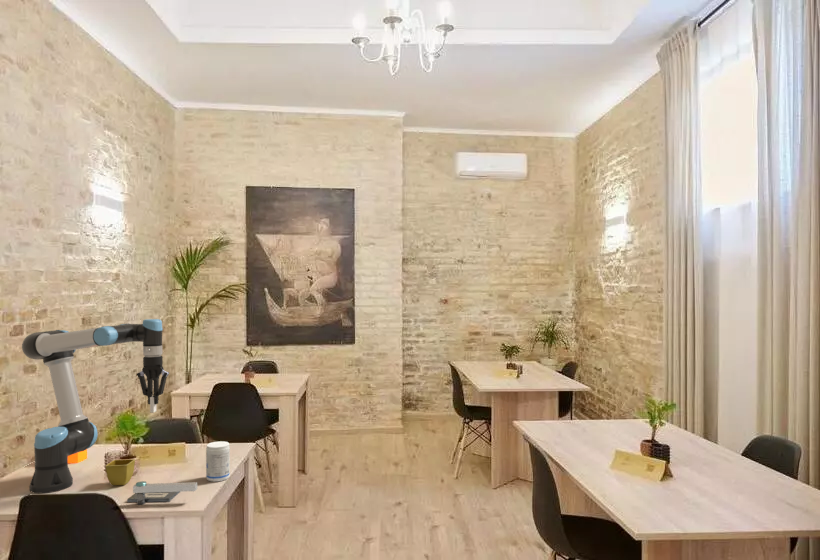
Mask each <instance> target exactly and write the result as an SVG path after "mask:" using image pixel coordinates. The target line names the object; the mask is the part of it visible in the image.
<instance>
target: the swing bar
mask: <svg viewBox="0 0 820 560" xmlns="http://www.w3.org/2000/svg"><path fill="white" fill-rule="evenodd" d="M197 490H198V482H197V481H196V482H195V481H193V482H191V481H190V482H189V481H188V482H163V483H162V482H161V483H159V482H157V483H147V481H145V480H144V481H143V480H141V481H138V482H136V483H135V484H134V485H133V486H132V493H133V494H135V493H149V492H180V493H181V492H196V491H197Z"/></svg>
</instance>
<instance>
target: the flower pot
mask: <svg viewBox="0 0 820 560" xmlns="http://www.w3.org/2000/svg"><path fill="white" fill-rule="evenodd" d="M135 463H136V459H135V458H133V459H132V458H131V459H130V458H129V459H113V460H112V461H110V462H108V463H107V464H106V465H105V472H106V477H107V480H108V481H109V483H110V485H111V486H112V487H113V486H125V485H127V484H128V483H129V482H130V481H131V479H132V477H133V475H134V472H135V465H136V464H135Z"/></svg>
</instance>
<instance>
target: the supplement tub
mask: <svg viewBox="0 0 820 560" xmlns="http://www.w3.org/2000/svg"><path fill="white" fill-rule="evenodd" d="M230 449H231V448H230V443H229V442H228V441H224V440H223V441H213V442H209V443H207V444H206V448H205V459H206V460H205V461H206V462H205V465H206V467H205V471H206V472H205V473H206V474H205V476H206V480H207V481H208V482H214V483H216V482H217V483H218V482H222V481H223V482H224V481H226V480H228V479H229V478H230V475H231V474H230V472H231V471H230V469H231V468H230V464H231V460H230V454H231V453H230Z"/></svg>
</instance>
